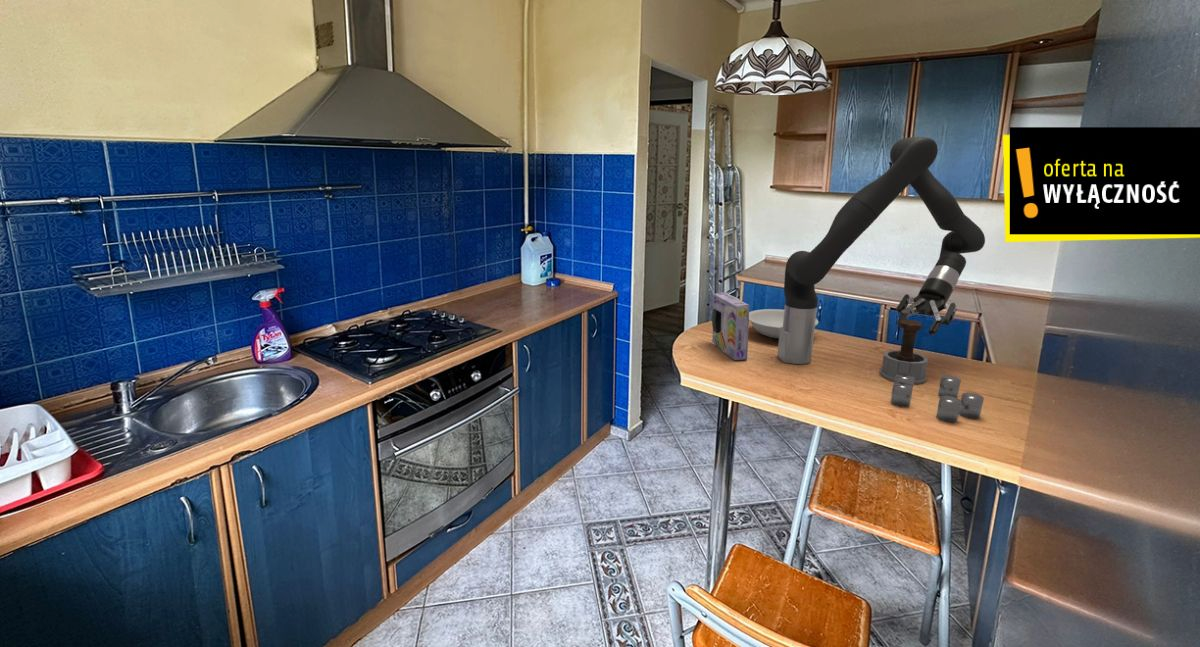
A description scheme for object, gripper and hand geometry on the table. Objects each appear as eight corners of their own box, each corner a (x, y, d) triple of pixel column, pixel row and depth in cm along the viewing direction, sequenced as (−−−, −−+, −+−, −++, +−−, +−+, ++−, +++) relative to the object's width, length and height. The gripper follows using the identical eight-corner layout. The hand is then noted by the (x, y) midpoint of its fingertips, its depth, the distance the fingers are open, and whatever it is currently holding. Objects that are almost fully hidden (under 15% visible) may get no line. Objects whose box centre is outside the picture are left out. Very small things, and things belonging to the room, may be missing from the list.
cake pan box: (709, 342, 191) (712, 291, 186) (723, 341, 192) (726, 290, 187) (732, 362, 173) (736, 305, 168) (748, 361, 174) (752, 305, 169)
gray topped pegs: (915, 422, 134) (918, 403, 133) (876, 390, 152) (878, 373, 151) (995, 422, 134) (1000, 403, 133) (947, 390, 153) (950, 373, 151)
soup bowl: (738, 325, 210) (739, 308, 209) (803, 326, 210) (805, 309, 208) (752, 346, 187) (754, 327, 186) (826, 347, 187) (828, 328, 185)
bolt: (910, 370, 165) (918, 320, 160) (917, 376, 160) (926, 325, 156) (889, 369, 165) (897, 319, 161) (895, 375, 160) (904, 324, 156)
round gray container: (892, 384, 157) (895, 363, 155) (871, 368, 168) (874, 349, 167) (935, 384, 157) (939, 363, 155) (911, 368, 168) (914, 349, 167)
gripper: (911, 273, 167) (886, 317, 164) (964, 281, 156) (939, 328, 153) (916, 288, 172) (892, 331, 168) (968, 297, 161) (944, 343, 157)
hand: (914, 329), depth 160 cm, fingers open, 8 cm apart
